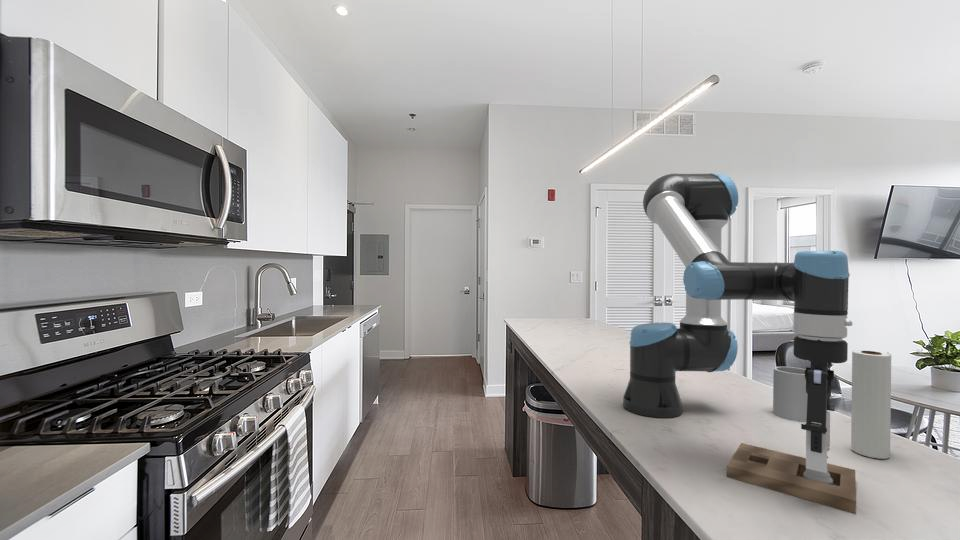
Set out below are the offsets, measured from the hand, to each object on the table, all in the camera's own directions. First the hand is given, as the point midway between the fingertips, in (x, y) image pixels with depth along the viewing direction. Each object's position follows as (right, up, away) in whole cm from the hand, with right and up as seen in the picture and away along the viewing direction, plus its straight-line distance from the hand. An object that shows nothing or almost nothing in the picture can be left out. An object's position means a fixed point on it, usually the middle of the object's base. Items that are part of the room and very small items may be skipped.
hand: (818, 456), depth 76 cm
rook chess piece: (0, -5, 0) cm, 5 cm away
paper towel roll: (+22, -6, +14) cm, 27 cm away
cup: (+23, -6, +37) cm, 44 cm away
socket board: (-3, -5, +3) cm, 7 cm away
